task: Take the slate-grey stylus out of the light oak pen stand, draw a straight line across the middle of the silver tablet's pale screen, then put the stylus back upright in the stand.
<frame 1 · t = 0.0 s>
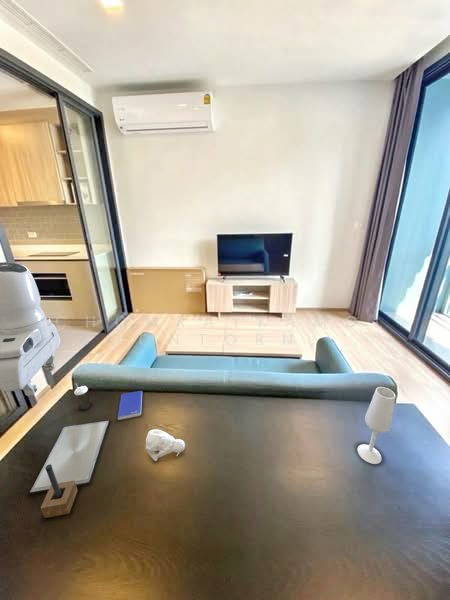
hand: (42, 380, 63), 33 cm above the table, tool pointing down, fingers open, 8 cm apart
milkshake: (85, 407, 99), on the table
stand: (61, 503, 66), on the table
tablet: (75, 453, 80), on the table
stylus: (55, 485, 64), in the stand
hard drive: (131, 406, 99), on the table
champagne flute: (369, 454, 79), on the table
white animal figurine: (167, 452, 80), on the table
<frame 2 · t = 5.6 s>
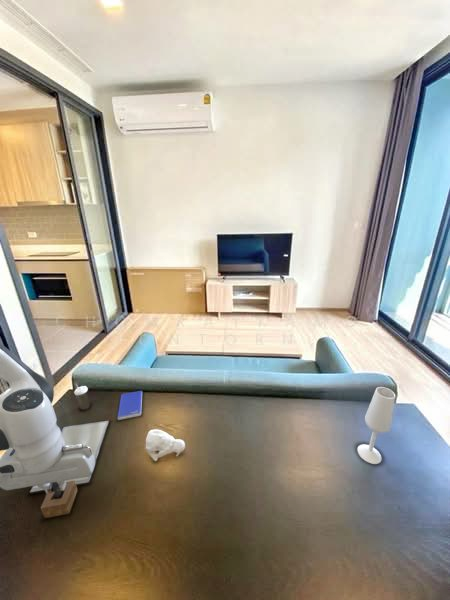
hand: (56, 489, 64), 6 cm above the table, tool pointing down, fingers closed on stylus, 1 cm apart
stylus: (55, 485, 64), in the stand, touching gripper
everything else where it was.
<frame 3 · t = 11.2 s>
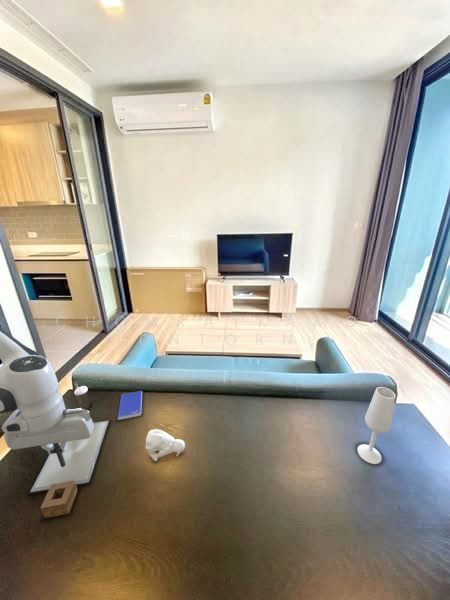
hand: (58, 451, 70), 10 cm above the table, tool pointing down, fingers closed on stylus, 1 cm apart
stylus: (57, 447, 69), point 11 cm above the table, touching gripper
everything else where it was.
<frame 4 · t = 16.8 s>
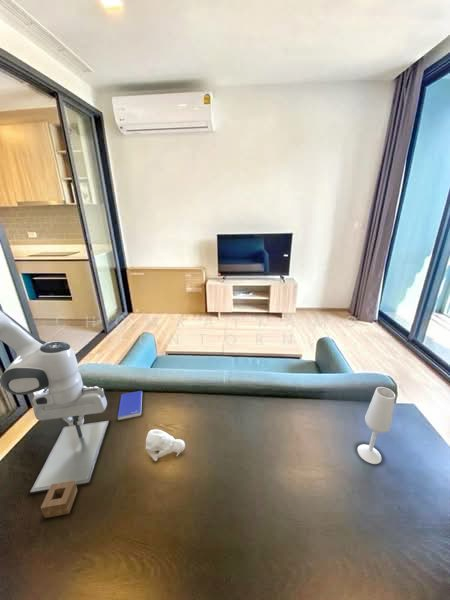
hand: (76, 423, 82), 7 cm above the table, tool pointing down, fingers closed on stylus, 1 cm apart
stylus: (76, 420, 82), point 8 cm above the table, touching gripper
everything else where it was.
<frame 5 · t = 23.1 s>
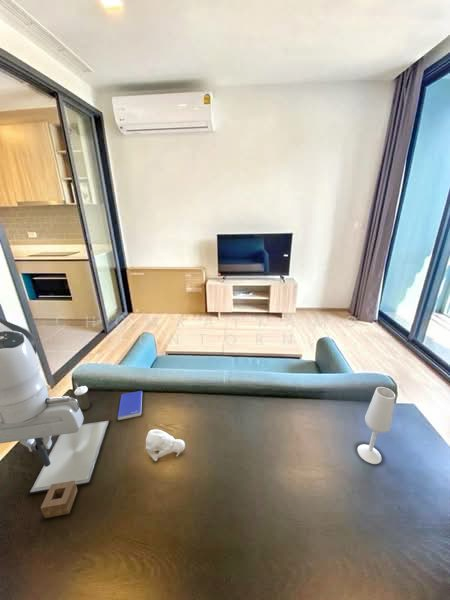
hand: (41, 447, 59), 20 cm above the table, tool pointing down, fingers closed on stylus, 1 cm apart
stylus: (39, 443, 59), point 22 cm above the table, touching gripper
everything else where it was.
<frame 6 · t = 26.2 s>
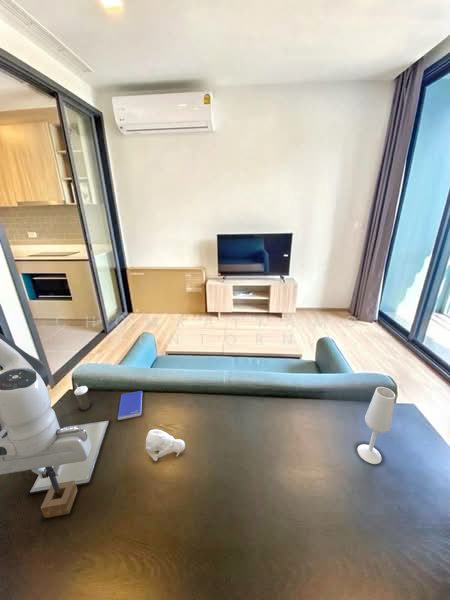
hand: (51, 474, 62), 11 cm above the table, tool pointing down, fingers closed on stylus, 1 cm apart
stylus: (50, 470, 62), point 12 cm above the table, touching gripper
everything else where it was.
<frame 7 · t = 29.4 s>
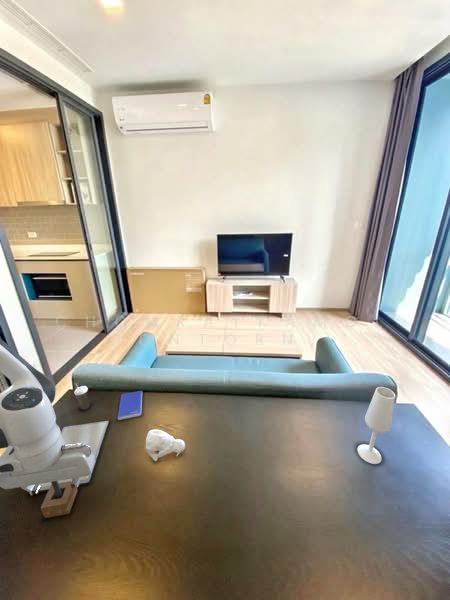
hand: (56, 488, 64), 6 cm above the table, tool pointing down, fingers open, 8 cm apart
stylus: (55, 485, 64), in the stand
everything else where it was.
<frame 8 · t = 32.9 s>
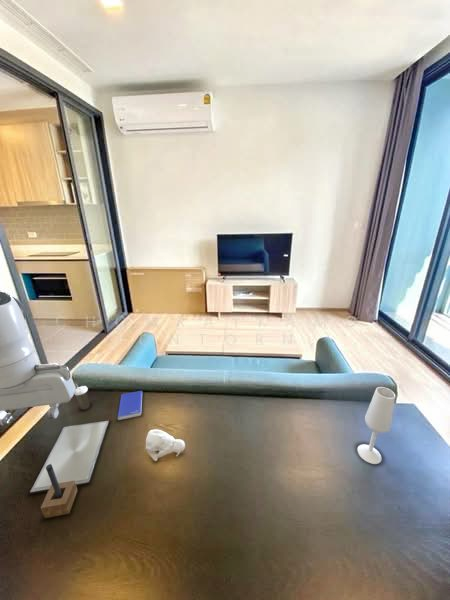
hand: (31, 419, 56), 29 cm above the table, tool pointing down, fingers open, 8 cm apart
nothing on the table moved.
at the end: stylus 0.1 cm off-centre in the stand, point 7.0 cm above the stand's base; stylus tilted 0°; the gripper is holding nothing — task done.
